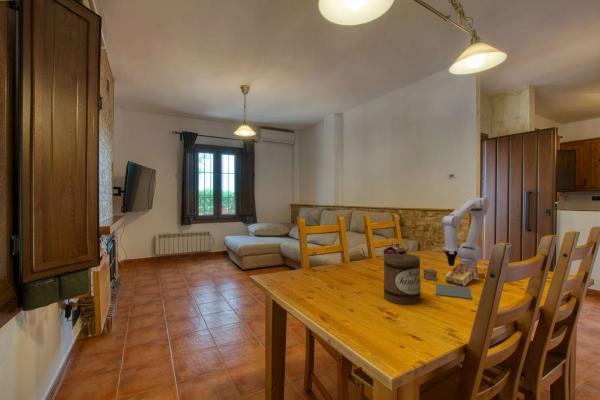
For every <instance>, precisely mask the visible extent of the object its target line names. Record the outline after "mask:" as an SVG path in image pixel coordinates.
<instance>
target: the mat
mask: <svg viewBox="0 0 600 400" xmlns="http://www.w3.org/2000/svg"><path fill="white" fill-rule="evenodd" d="M435 296H440V297H448V298H455V299H462V300H463V299H464V300H471V301H473V296H472V293H471V289H470V287H468V286H464V287H462V286H458V285H453V284H451V285H450V284H441V283H436V284H435Z"/></svg>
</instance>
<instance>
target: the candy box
mask: <svg viewBox="0 0 600 400" xmlns="http://www.w3.org/2000/svg"><path fill="white" fill-rule="evenodd" d="M478 269H479V268H478V265H477V266H471V265H466V264H462V262H460V263H458V264H457V265H456V266H455V267H454V268H452V269H451V270H450V271H448V273H446V274H445V275H444V277H445V282H446V283H448V284H451V285H454V286H460V287H466V285H467V284H468V283H469V282H471V281H472V280H474V279H473V278H474V277H475V276H476V275H477V276H478V274H479V271H478Z"/></svg>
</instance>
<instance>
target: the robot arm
mask: <svg viewBox="0 0 600 400" xmlns="http://www.w3.org/2000/svg"><path fill="white" fill-rule="evenodd" d="M489 207H490V204H489V200H488V198H487V197H467V198H466V199H465V200H464V204H462V205H461V207H460V208H457V207H456V208H455V209H454V210H453V211H452V212H451V213H450V214H449V215H445V216H444V217H442V221H441V225H442V226H443V228H442V229H443V230H444V246H442V248H441V249H442V250H446V251H444V255H446V258H447V263H448V266H449V267H454V266H455V261H456V258H457V256H458V258H459V260H460V261H461V264H466V265H471V266H477V267H478V263H479V262H480V260H481V259H482V248H481V247H480V246H479V245H478V242H479V238H480V235H481V231H482V227H483V223H484V218H485V216H486V215H488V210H489ZM468 212H469V214H470V215H472V219H471V223H470V225H469V226H470V227H469V230H468V234H467V238H466V241H465V242H463V243H461V244H460V247H458V227H460V225H461V223H462V220H463V219H464V218H466V216H467V213H468ZM472 280H477V281H479V280H480V278H479V275H478V274H477V275H476V276H475V277H474V278H473V279H472Z"/></svg>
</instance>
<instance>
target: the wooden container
mask: <svg viewBox="0 0 600 400" xmlns="http://www.w3.org/2000/svg"><path fill="white" fill-rule="evenodd" d="M398 248H399V249H398V250H397V251H398V253H397V254H387V255H385V256H384V255H383V297H384V299H385V300H386V301H388V302H390V303H393V304H397V305H407V306H408V305H409V306H410V305H411V306H412V305H415V304H419V303H420V302H421V289H422V288H421V258H420V257H419V256H416V255H413V254H408V253H406V249H405V248H404V247H398Z"/></svg>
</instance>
